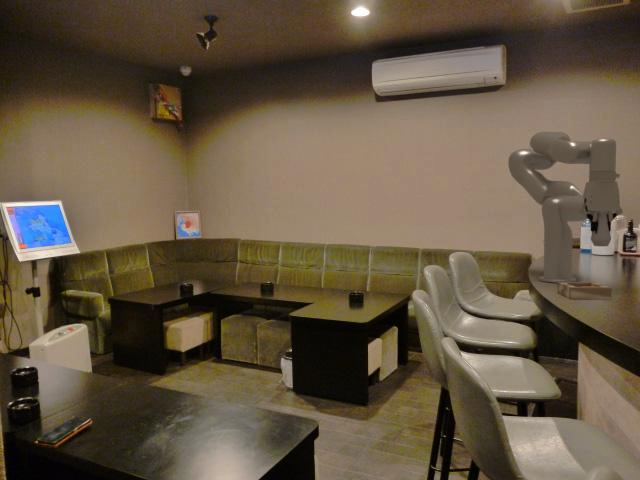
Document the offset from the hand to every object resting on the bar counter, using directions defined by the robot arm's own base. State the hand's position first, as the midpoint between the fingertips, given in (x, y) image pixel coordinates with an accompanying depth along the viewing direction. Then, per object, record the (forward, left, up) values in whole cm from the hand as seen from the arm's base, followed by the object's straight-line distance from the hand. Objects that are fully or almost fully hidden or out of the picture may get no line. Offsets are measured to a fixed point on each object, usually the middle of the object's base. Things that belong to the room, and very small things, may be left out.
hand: (600, 233), depth 167 cm
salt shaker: (0, 0, -4) cm, 4 cm away
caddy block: (+11, -9, -19) cm, 24 cm away
